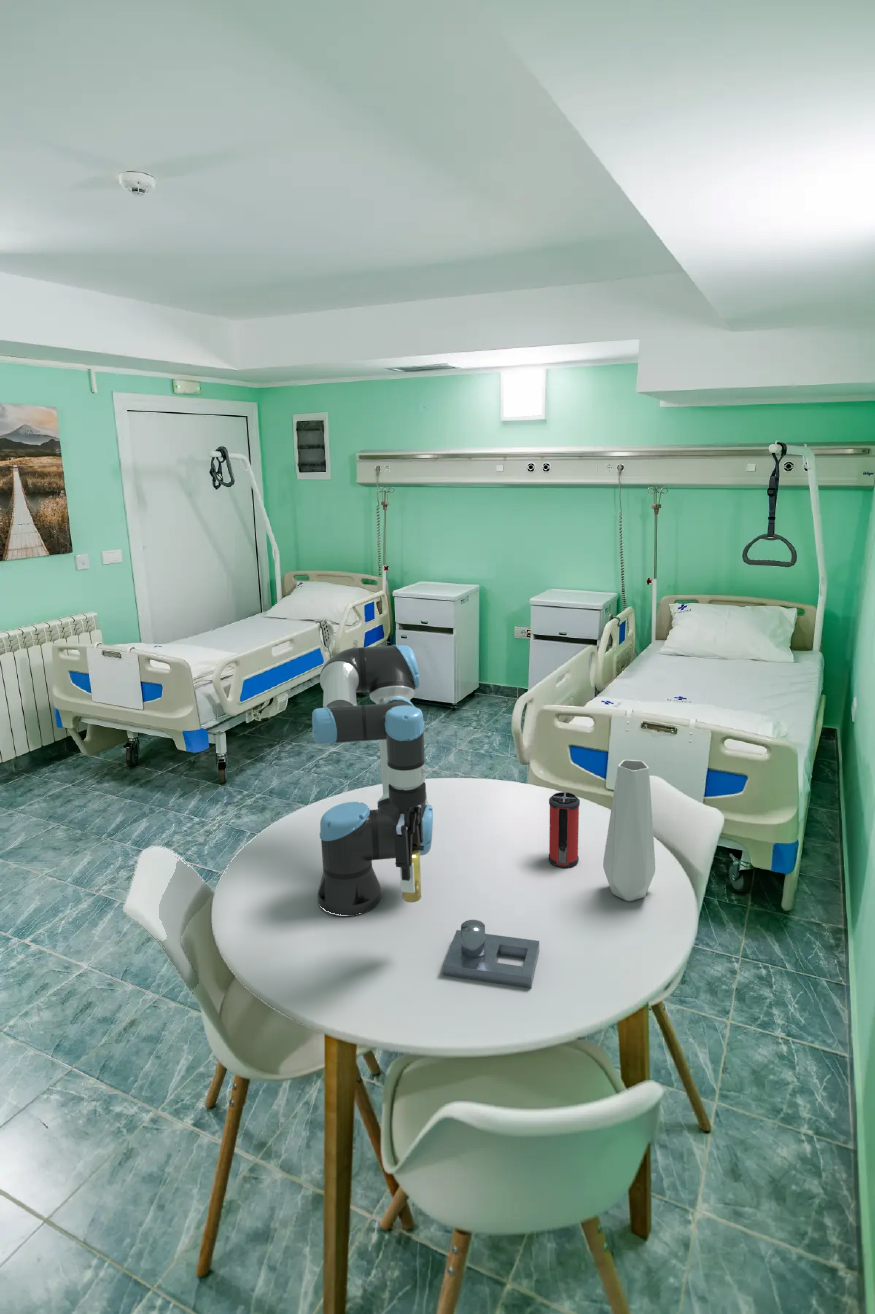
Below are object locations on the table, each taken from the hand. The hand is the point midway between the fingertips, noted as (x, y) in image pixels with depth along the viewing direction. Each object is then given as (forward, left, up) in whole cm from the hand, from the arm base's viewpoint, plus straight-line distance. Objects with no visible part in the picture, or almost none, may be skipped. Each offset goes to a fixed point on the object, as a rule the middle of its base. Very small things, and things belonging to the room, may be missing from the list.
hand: (411, 885), depth 158 cm
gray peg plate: (+17, 0, -16) cm, 23 cm away
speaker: (+27, +44, -16) cm, 54 cm away
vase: (+43, +33, -16) cm, 57 cm away
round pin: (0, 0, -3) cm, 3 cm away
